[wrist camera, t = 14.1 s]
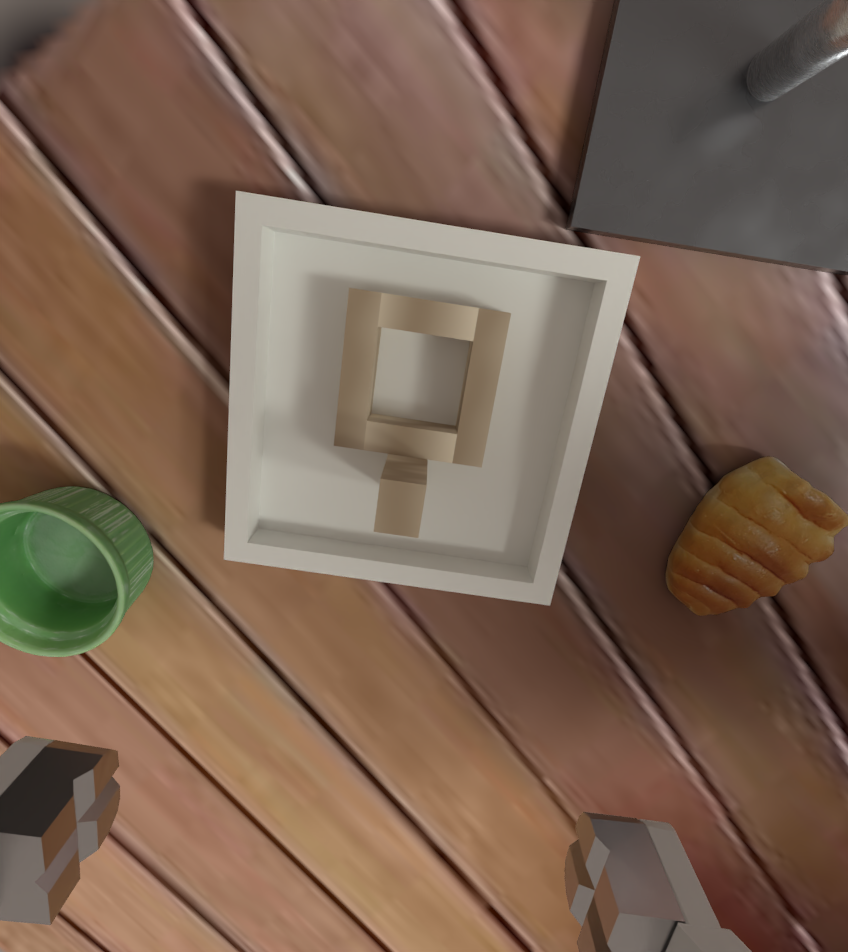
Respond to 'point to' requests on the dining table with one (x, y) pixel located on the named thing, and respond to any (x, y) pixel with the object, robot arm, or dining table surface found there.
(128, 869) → the dining table surface
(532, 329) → the tray
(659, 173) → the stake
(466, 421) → the ring
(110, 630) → the ramekin
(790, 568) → the pastry
